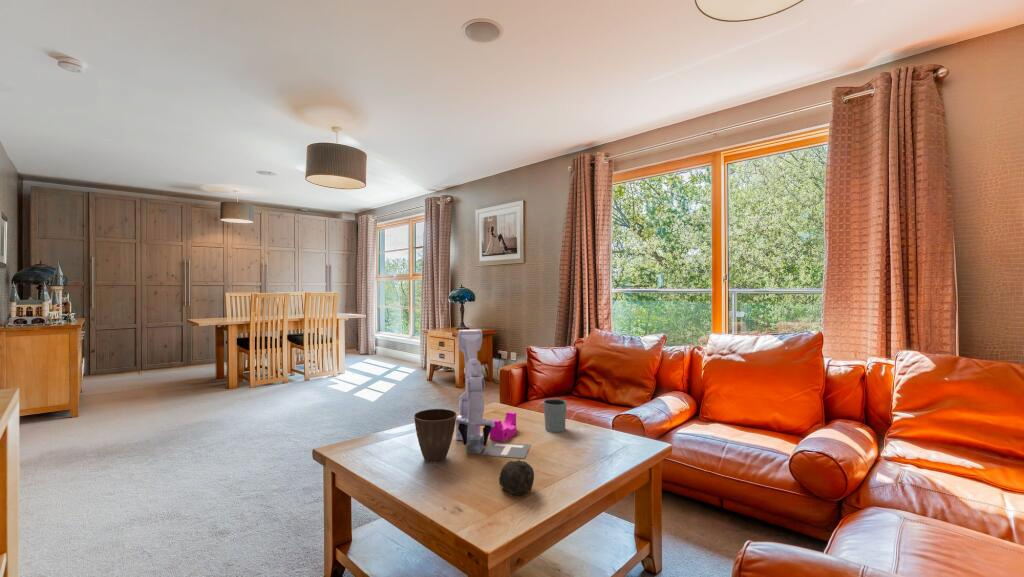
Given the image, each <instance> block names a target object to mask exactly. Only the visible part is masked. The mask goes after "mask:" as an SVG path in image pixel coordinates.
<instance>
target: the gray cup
mask: <svg viewBox="0 0 1024 577" xmlns="http://www.w3.org/2000/svg"><path fill="white" fill-rule="evenodd" d="M567 403H568V402H567V401H566V400H565V399H559V398H549V399H544V400H543V401H542V404H543V412H544V415H543V416H544V429H545V431H547V432H549V433H557V434H558V433H563V432H565V431H566V419H567V418H566V415H567Z"/></svg>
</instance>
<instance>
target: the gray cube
mask: <svg viewBox="0 0 1024 577" xmlns="http://www.w3.org/2000/svg"><path fill="white" fill-rule="evenodd" d="M483 440H484V436H480V435H470V436H469V437H468V439H467V444H466V453H468V454H470V453H471V454H478V455H479V454H482V452H483V451H484V446H483Z"/></svg>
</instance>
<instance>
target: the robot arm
mask: <svg viewBox="0 0 1024 577" xmlns="http://www.w3.org/2000/svg"><path fill="white" fill-rule="evenodd" d="M457 342H458V343H457V344H458V346H457V347H458V351H460V352H462V353H463V356H464V378H465V379H464V381H465V384H464V385H465V391H464V392H463V393H461V395H460V396H459V399H458V401H459V402H458V411H459V412H458V413H459V415H458V416H456V422H455V428H456V429H455V434H456V435H455V440H456V441H462V442H463V445H464V446H465V445H466V446H467V439H468V437H469V436H470V435H480V436H483V447H487V446H488V438H489V437H490V431H491V428H492V427H494V426H495V421H493V420H492V419H487V418H484V412H485V404H484V403H485V402H484V391H485V388H486V387H485V384H486V383H485V378H484V375H483V373H482V363H481V361H480V360H478V351H481V347H482V343H483V330H482V329H480V328H479V329H459V330H458V333H457ZM481 427H483V428H482V433H481Z"/></svg>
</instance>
